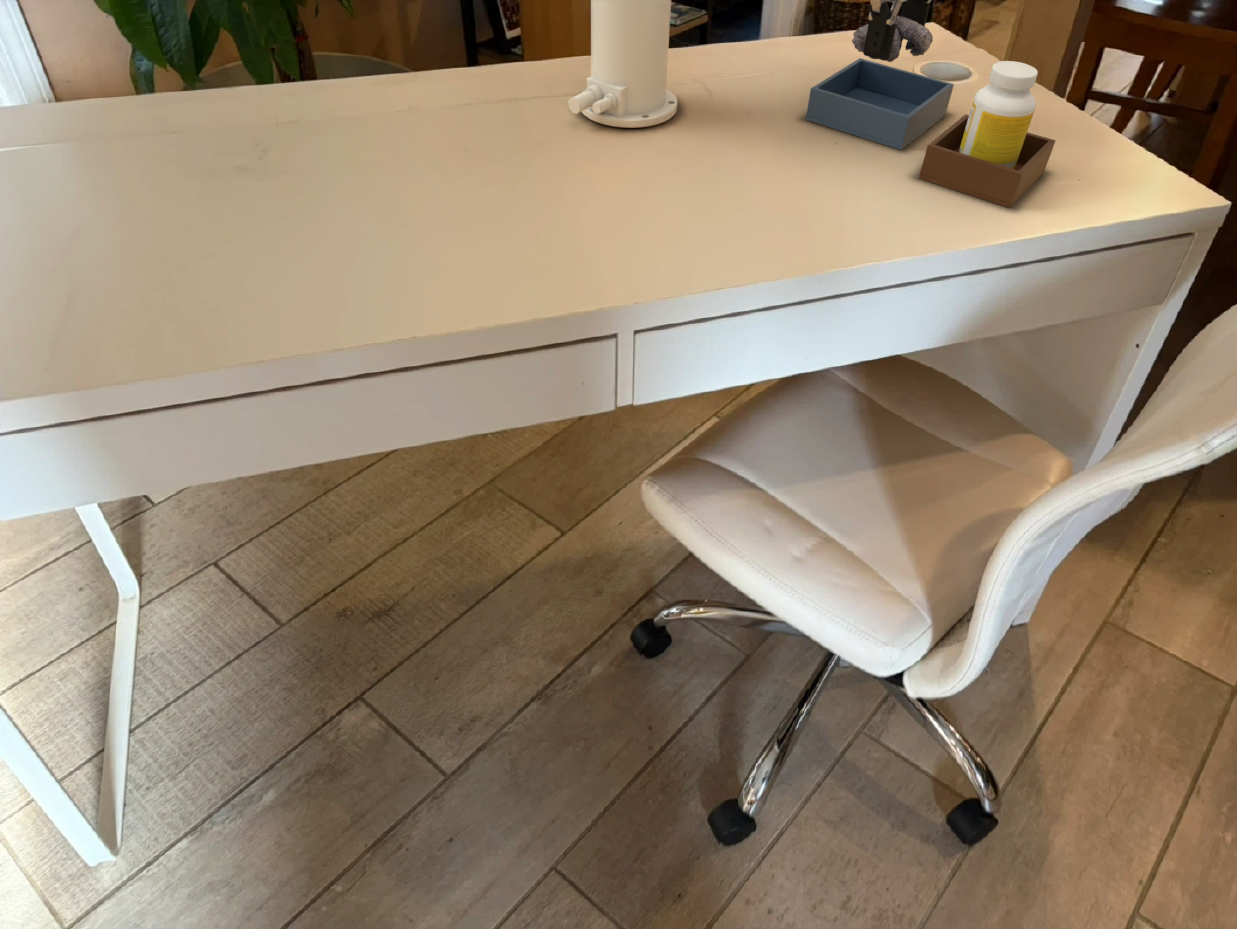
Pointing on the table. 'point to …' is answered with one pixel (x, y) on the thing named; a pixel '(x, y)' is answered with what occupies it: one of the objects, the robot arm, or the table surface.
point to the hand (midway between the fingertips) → (892, 46)
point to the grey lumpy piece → (900, 38)
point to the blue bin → (879, 102)
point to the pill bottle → (1001, 114)
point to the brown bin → (984, 167)
